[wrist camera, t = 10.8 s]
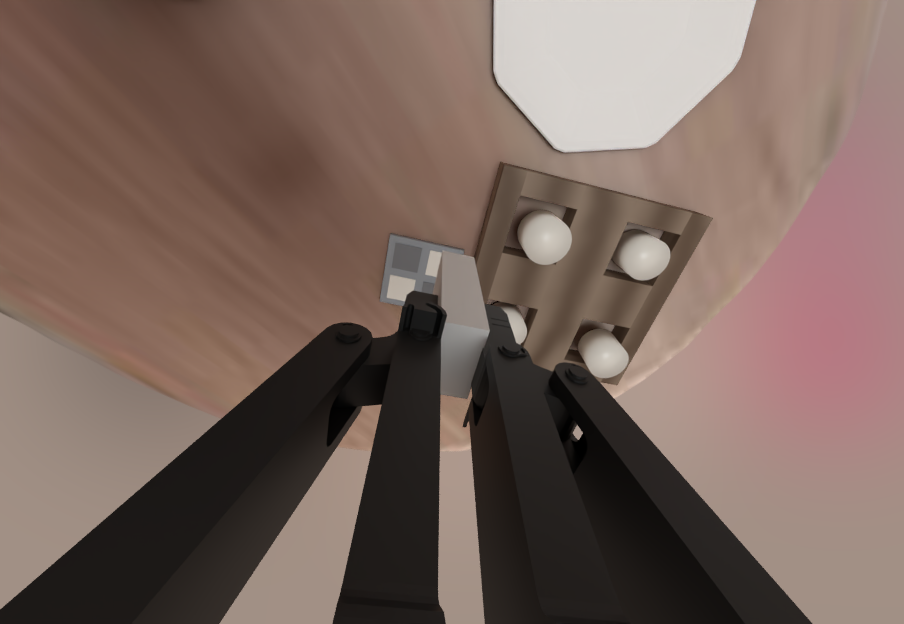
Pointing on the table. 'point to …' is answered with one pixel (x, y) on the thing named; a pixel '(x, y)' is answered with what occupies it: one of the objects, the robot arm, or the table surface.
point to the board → (580, 264)
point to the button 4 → (641, 255)
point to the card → (411, 267)
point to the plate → (613, 64)
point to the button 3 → (602, 353)
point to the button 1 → (514, 320)
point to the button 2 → (544, 237)
